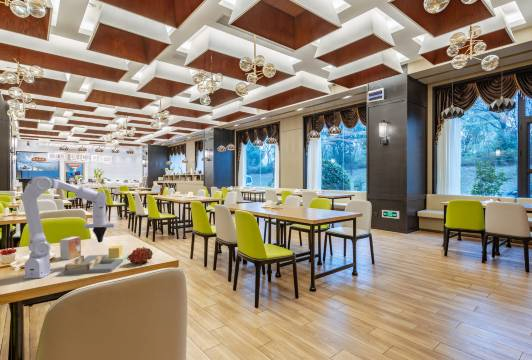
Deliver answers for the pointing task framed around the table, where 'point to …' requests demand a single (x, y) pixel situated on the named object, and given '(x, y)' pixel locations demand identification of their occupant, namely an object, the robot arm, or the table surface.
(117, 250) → the cube
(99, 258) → the shallow brown tray
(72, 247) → the small box
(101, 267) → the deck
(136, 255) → the red grape bunch
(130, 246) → the table surface
